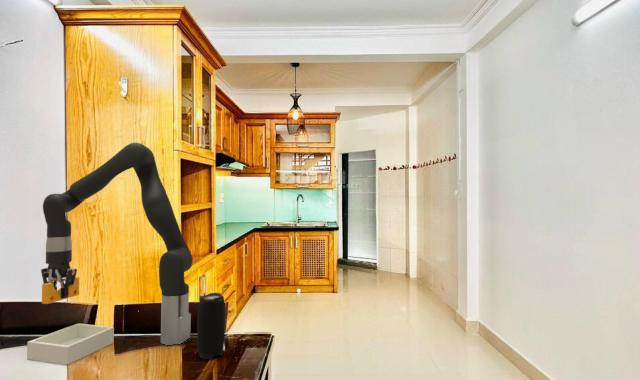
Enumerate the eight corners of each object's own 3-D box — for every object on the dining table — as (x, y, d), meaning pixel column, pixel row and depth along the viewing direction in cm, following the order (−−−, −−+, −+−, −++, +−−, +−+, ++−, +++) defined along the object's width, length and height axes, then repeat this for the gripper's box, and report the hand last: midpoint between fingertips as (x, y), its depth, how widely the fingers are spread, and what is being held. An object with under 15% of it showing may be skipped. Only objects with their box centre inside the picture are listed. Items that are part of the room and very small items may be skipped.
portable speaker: (192, 361, 114) (193, 299, 114) (203, 348, 123) (204, 291, 124) (219, 361, 113) (220, 299, 114) (227, 349, 123) (228, 292, 123)
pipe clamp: (69, 294, 133) (69, 276, 134) (78, 294, 132) (79, 277, 133) (37, 303, 122) (37, 284, 122) (47, 303, 121) (48, 284, 121)
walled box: (113, 342, 128) (113, 327, 128) (66, 365, 110) (67, 347, 110) (77, 338, 132) (78, 323, 132) (26, 359, 114) (27, 341, 114)
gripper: (84, 248, 129) (84, 295, 129) (53, 247, 133) (53, 294, 132) (64, 251, 122) (64, 301, 121) (32, 250, 126) (32, 299, 125)
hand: (58, 297), depth 127 cm, fingers closed on pipe clamp, 4 cm apart
